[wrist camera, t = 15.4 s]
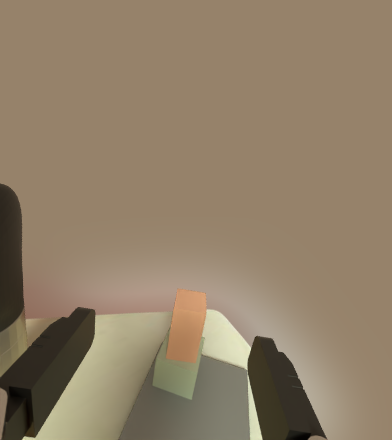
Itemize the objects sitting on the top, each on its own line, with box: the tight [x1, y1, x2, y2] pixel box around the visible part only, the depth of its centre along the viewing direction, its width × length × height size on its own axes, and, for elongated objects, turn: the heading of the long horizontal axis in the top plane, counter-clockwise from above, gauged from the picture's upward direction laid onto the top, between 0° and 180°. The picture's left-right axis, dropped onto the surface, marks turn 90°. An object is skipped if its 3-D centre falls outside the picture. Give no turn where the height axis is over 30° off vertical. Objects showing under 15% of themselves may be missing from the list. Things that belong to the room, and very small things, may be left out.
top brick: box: [166, 289, 206, 363], centre depth 34 cm, size 5×5×10 cm
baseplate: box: [119, 342, 250, 440], centre depth 32 cm, size 18×18×1 cm
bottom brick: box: [152, 327, 205, 400], centre depth 36 cm, size 7×7×6 cm
